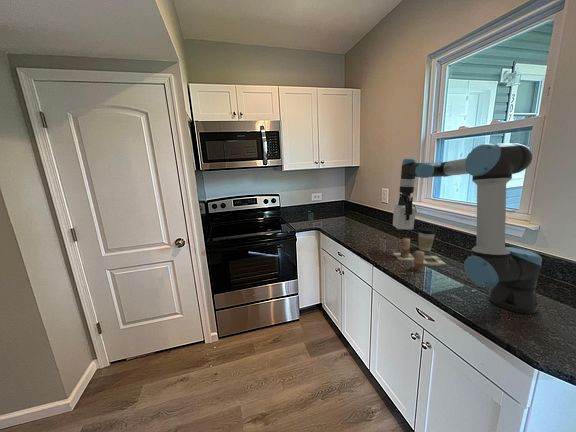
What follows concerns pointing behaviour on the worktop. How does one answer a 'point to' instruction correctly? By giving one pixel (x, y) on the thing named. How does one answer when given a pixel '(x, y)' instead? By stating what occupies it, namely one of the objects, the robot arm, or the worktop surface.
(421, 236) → the coffee cup
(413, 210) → the block
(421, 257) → the peg
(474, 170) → the robot arm
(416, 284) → the worktop surface
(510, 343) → the worktop surface
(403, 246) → the wooden post on base
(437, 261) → the socket board
